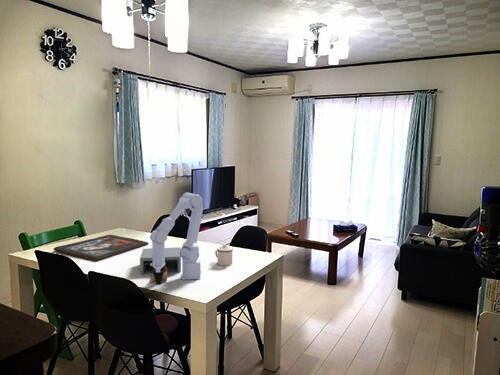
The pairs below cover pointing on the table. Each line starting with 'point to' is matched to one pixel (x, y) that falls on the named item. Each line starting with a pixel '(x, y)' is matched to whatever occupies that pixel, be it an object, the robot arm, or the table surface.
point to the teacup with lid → (224, 255)
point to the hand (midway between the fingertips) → (159, 281)
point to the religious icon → (101, 247)
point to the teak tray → (164, 277)
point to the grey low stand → (170, 257)
